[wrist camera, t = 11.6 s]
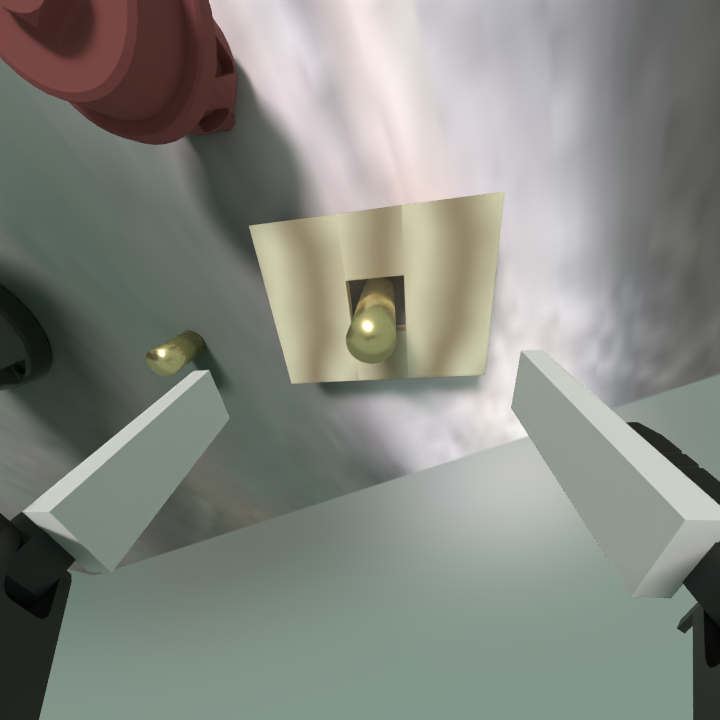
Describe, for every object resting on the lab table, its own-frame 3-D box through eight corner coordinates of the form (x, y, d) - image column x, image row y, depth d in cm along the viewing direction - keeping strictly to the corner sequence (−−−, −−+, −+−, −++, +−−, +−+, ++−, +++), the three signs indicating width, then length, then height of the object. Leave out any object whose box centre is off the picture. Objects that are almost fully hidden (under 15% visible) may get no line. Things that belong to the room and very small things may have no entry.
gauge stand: (305, 359, 31) (291, 383, 27) (273, 223, 25) (248, 225, 20) (470, 350, 29) (484, 374, 24) (482, 195, 22) (504, 191, 18)
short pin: (186, 355, 33) (154, 377, 28) (175, 331, 31) (140, 350, 27) (209, 353, 32) (180, 375, 28) (199, 329, 31) (167, 349, 26)
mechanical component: (199, -67, 17) (293, 109, 21) (109, 53, 21) (204, 188, 24) (-117, -528, 7) (188, -1, 10) (-205, -126, 10) (52, 168, 13)
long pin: (365, 307, 28) (349, 364, 17) (362, 277, 26) (342, 319, 16) (395, 305, 27) (397, 362, 17) (393, 274, 26) (394, 315, 15)
